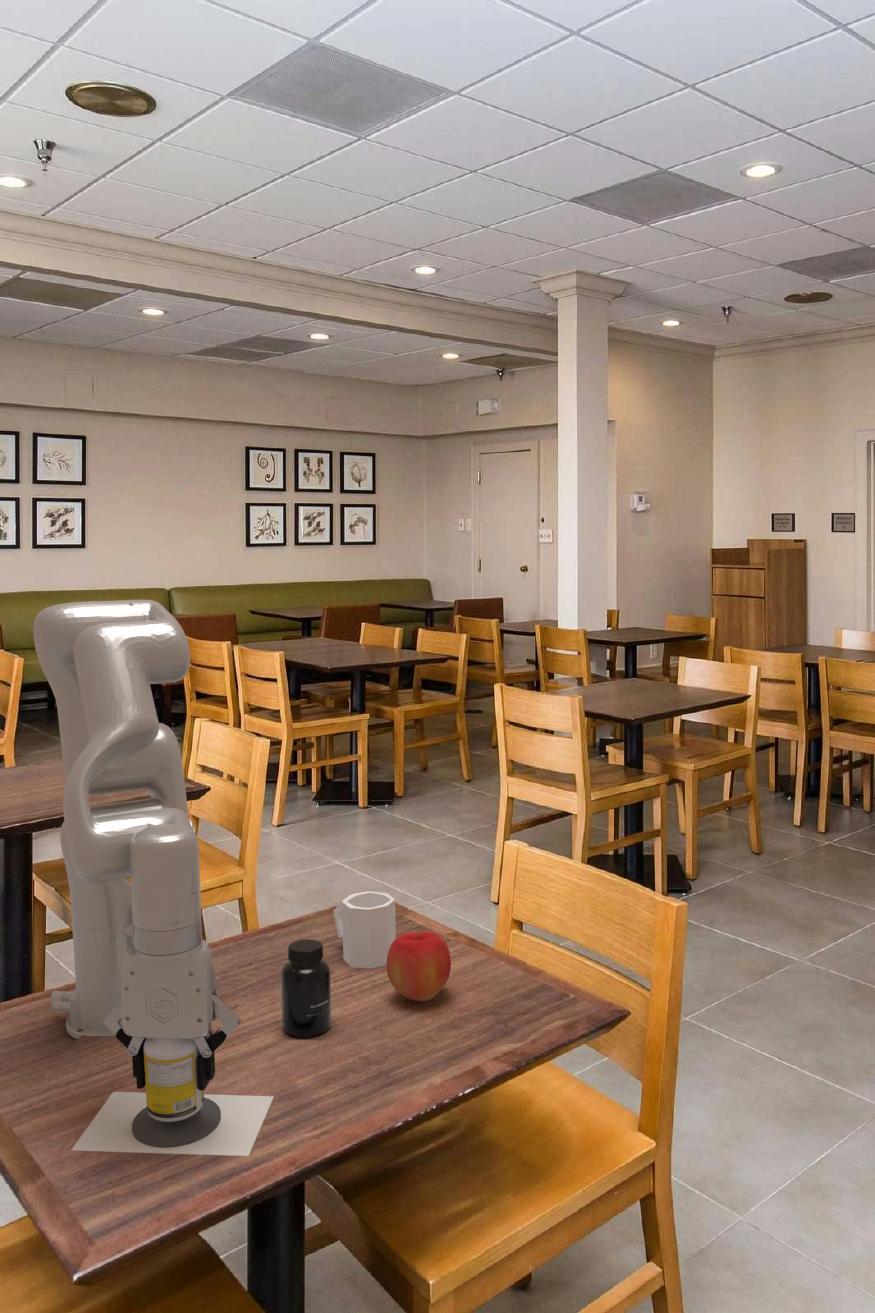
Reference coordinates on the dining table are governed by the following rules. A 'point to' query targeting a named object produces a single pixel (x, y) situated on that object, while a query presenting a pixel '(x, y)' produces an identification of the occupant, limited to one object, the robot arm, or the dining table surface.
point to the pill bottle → (171, 1079)
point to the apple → (418, 965)
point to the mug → (366, 928)
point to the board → (227, 1139)
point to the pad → (176, 1127)
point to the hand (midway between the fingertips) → (174, 1082)
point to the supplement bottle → (306, 990)
